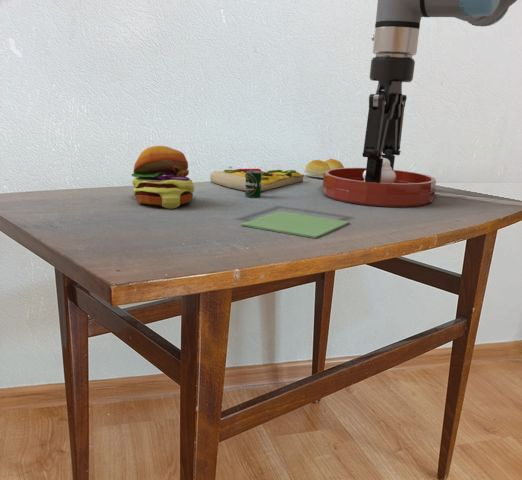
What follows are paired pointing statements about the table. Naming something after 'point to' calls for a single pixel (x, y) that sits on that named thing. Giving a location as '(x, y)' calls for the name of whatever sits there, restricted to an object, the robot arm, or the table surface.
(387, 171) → the muffin
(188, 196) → the cheeseburger
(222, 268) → the table surface
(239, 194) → the table surface
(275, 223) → the cloth
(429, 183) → the pan
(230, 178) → the pizza slice
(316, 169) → the bread roll
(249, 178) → the beer can
